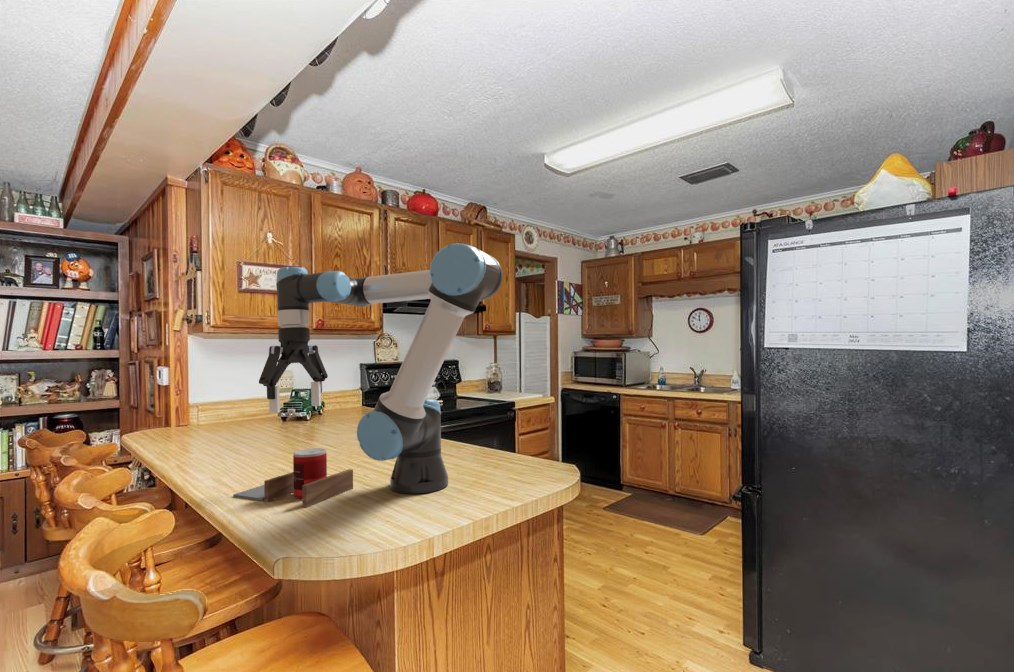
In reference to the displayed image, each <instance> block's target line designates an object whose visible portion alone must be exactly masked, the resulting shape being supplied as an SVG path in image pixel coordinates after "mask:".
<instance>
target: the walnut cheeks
mask: <svg viewBox="0 0 1014 672" xmlns="http://www.w3.org/2000/svg"><path fill="white" fill-rule="evenodd" d="M263 485H264V493H265V500H264V502H266V503H267V502H268V503H269V502H271V501H275V500H278V499H280V497H281V498H283V497H286V496H289V495H292V494H294V474H293V471H292V472H288V473H285V474H282V475H279V476H276V477H275V476H274V477H272V478H270V479H265V480H264V483H263ZM353 489H354V469H350V468H349V469H345V470H343V471H339V472H337V473H335V474H332V475H329V476H328V475H327V477H325V478H322V479H319V480H317V481H314V482H311V483H308V484H305V485H302V498H303V499H302V508H308V507H311V506H313V505H317V504H319V503H321V502H323V501H326V500H329V499H331V498H333V496H334V497H336V496H338V494H339V495H341V494H344V493H345V491H346V492H348V490H349V491H351V490H353ZM343 492H344V493H343ZM291 493H292V494H291ZM340 493H341V494H340ZM335 495H336V496H335ZM330 497H331V498H330ZM328 498H329V499H328Z"/></svg>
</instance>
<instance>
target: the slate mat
mask: <svg viewBox="0 0 1014 672" xmlns="http://www.w3.org/2000/svg"><path fill="white" fill-rule="evenodd" d="M232 497H233V498H237V497H239V498H240V499H245V500H252V501H253V500H254V501H259V502H265V493H264V484H263V485H260V486H256V487H252V488H250V489H246V490H244V491H241V492H236V493H234V494H233V495H232Z"/></svg>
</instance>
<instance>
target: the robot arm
mask: <svg viewBox="0 0 1014 672" xmlns="http://www.w3.org/2000/svg"><path fill="white" fill-rule="evenodd" d="M503 280H504V273H503V269H502V266H501V264H500V263H499V261H498V260H497V259H496V258H495V257H493V255H490V254H488V253H486V252H484V251H482V250H481V249H478V248H477V247H475V246H472V245H470V244H465V243H459V242H456V243H451V244H447V245H446V246H444V247H443V248H441V249H439V251H437V252H436V254H435V255H434V257H433V258H432V261H431V262H430V268H429V269H426V270H425V269H424V270H417V271H416V270H415V271H409V272H407V271H406V272H400V273H399V272H398V273H391V274H390V273H389V274H381V275H376V276H375V275H372V276H365V277H350V276H348V275H346V274H345V272H344V271H340V270H334V271H333V270H328V271H322V272H314V273H309V272H308V270H307V269H306V268H305V267H299V266H283V267H280V268H279V269H278V270H277V272H276V285H275V286H276V296H277V300H276V301H277V326H279V327H280V328H279V329H277V334H278V335H277V337H278V338H277V340H278V342H279V343H280V345H270V346H269V348H268V357H267V358H266V361H265V365H264V366H263V369H262V371H261V375H260V377H259V380H258V384H259V385H262V386H263V387H266V398H267V400H268V405H269V406H268V407H269V409H268V410H269V413H270V414H271V413H273V414H274V413H275V414H277V413H280V412H281V404H280V403H281V400H280V399H281V398H280V397H281V396H280V385H277V384H278V382H279V381H280V380H281V377H283V374H284V373H285V372H286V370H287V368H288V367H289V365H291V364H300V365H302V367H303V369H304V370H305V371H306V372H307V374H308V375H309V377H310V378H311V380H313V381H311V382H310V399H311V401H310V402H311V406H312V407H321V406H322V393H323V382H324V381H326V379H328V375H329V374H328V373H327V370H326V369H325V366H324V364H323V361H322V359H321V355H320V353H319V348H318V345H317V344H316V345H309V344H308V343H309V342H310V340H311V338H310V337H311V334H310V333H311V332H310V329H309V326H310V304H313V303H314V304H317V303H331V304H338V305H339V304H341V305H349V306H355V307H357V308H358V307H368V306H370V305H373V304H384V303H385V304H387V303H394V302H395V303H396V302H408V301H418V300H419V301H420V300H427V299H428V300H430V302H429V304H428V306H427V309H426V311H425V313H424V316H423V317H422V319H421V321H420V324H419V326H418V328H417V331H416V332H415V335H414V337H413V339H412V341H411V344H410V346H409V348H408V350H407V351H406V354H405V356H404V359H403V360H402V363H401V365H400V368H399V370H398V372H397V374H396V376H395V378H394V380H393V383H392V384H391V387H390V390H389V391H386V392H383V393H381V394H380V396H379V398H378V400H377V402H376V404H375V406H374V409H373V410H372V411H368V412H367V413H365V414H364V415H363V416H362V417H361V418H360V420H359V422H358V423H357V427H356V438H357V441H358V443H359V447H360V448H361V450H362V451H363V453H364V454H365V455H366V456H368V457H369V458H370V459H372V460H375V461H381V462H384V461H389V460H394V459H395V462H394V466H393V470H392V472H391V475H390V484H389V485H390V486H389V487H390V490H392V491H393V492H395V493H400V494H410V495H411V494H416V495H417V494H427V493H433V492H436V491H440V490H443V489H445V488H446V487H448V485H449V475H448V472H447V469H446V466H445V462H444V460H443V457H442V431H441V429H442V423H441V422H442V421H441V420H442V419H441V415H442V411H441V404H440V403H441V402H440V401H438V400H436V399H427V398H428V395H429V394H430V392H431V389H432V387H433V385H434V383H435V381H436V378H437V377H438V374H439V373H440V370H441V368H442V365H443V363H444V361H445V360H446V357H447V355H448V353H449V351H450V349H451V346H452V344H453V342H454V341H455V338H456V337H457V334H458V332H459V330H460V328H461V326H462V323H463V322H464V319H465V318H466V317H467V316H468V315H472V314H474V313H475V311H476V310H477V307H478V305H479V303H480V301H484V300H488V299H490V298H492V297H493V296H495V295H496V294H497V293H498V292H499V291H500V289H501V287H502V285H503ZM280 355H281V356H280Z"/></svg>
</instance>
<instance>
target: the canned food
mask: <svg viewBox="0 0 1014 672" xmlns="http://www.w3.org/2000/svg"><path fill="white" fill-rule="evenodd" d="M327 454H328V453H327V448H322V447H321V448H320V447H317V448H316V447H311V448H304V449H299V450H297V451H294V452H293V456H292V457H293V459H292V462H293V466H292V467H293V468H292V469H293V471H292V472H293V474H294V493H293V496H294V497H295V499H298V500H303V498H302V485H305V484H308V483H311V482H314V481H317V480H319V479H322V478H325V477H328V475H327V474H328V471H327V469H328V467H327V463H328V460H327V458H328V457H327Z"/></svg>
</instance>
